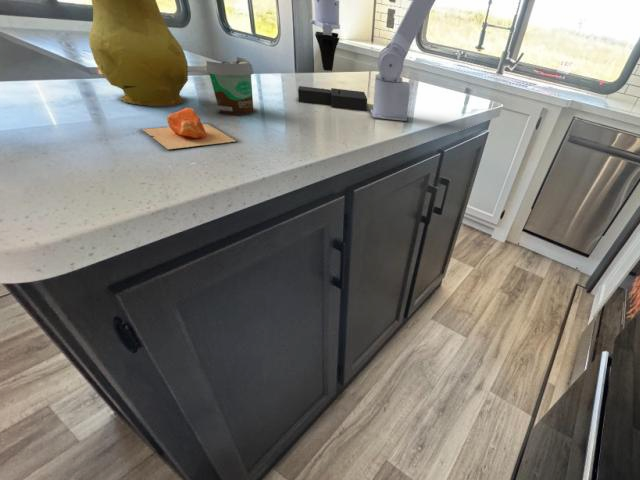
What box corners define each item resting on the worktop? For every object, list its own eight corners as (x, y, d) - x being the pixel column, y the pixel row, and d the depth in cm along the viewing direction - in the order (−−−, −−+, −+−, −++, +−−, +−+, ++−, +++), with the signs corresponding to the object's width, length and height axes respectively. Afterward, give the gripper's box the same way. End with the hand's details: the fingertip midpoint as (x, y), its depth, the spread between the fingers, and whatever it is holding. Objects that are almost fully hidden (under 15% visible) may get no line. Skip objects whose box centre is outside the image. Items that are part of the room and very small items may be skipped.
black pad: (338, 102, 100) (338, 90, 98) (339, 105, 97) (339, 94, 95) (299, 97, 98) (299, 85, 96) (298, 101, 94) (298, 89, 92)
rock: (168, 150, 57) (159, 123, 54) (141, 130, 62) (132, 104, 60) (236, 141, 64) (231, 117, 61) (207, 123, 70) (201, 100, 67)
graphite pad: (363, 103, 104) (364, 91, 102) (366, 110, 97) (367, 99, 95) (331, 99, 102) (331, 88, 100) (331, 107, 95) (331, 95, 93)
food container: (241, 119, 75) (232, 66, 69) (215, 114, 75) (204, 61, 69) (268, 109, 84) (262, 61, 78) (245, 104, 85) (238, 56, 78)
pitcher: (97, 105, 69) (33, -72, 53) (118, 90, 82) (72, -55, 67) (193, 112, 75) (160, -45, 60) (198, 97, 88) (172, -34, 73)
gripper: (310, -5, 82) (312, 62, 91) (308, -5, 72) (310, 70, 81) (339, 0, 84) (338, 65, 93) (341, 0, 73) (340, 74, 82)
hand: (327, 68), depth 87 cm, fingers open, 7 cm apart
